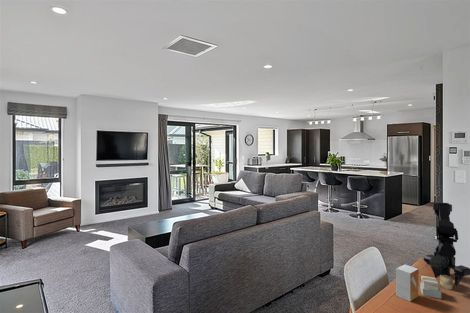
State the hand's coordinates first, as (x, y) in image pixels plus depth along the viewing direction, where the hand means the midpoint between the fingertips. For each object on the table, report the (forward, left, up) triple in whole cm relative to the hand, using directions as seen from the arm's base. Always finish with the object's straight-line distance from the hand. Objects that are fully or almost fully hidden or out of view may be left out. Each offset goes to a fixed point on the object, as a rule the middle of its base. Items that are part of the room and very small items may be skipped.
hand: (446, 281), depth 133 cm
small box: (+17, -18, -3) cm, 25 cm away
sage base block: (+10, -8, -3) cm, 13 cm away
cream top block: (+10, -8, +1) cm, 13 cm away
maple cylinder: (0, 0, -3) cm, 3 cm away
